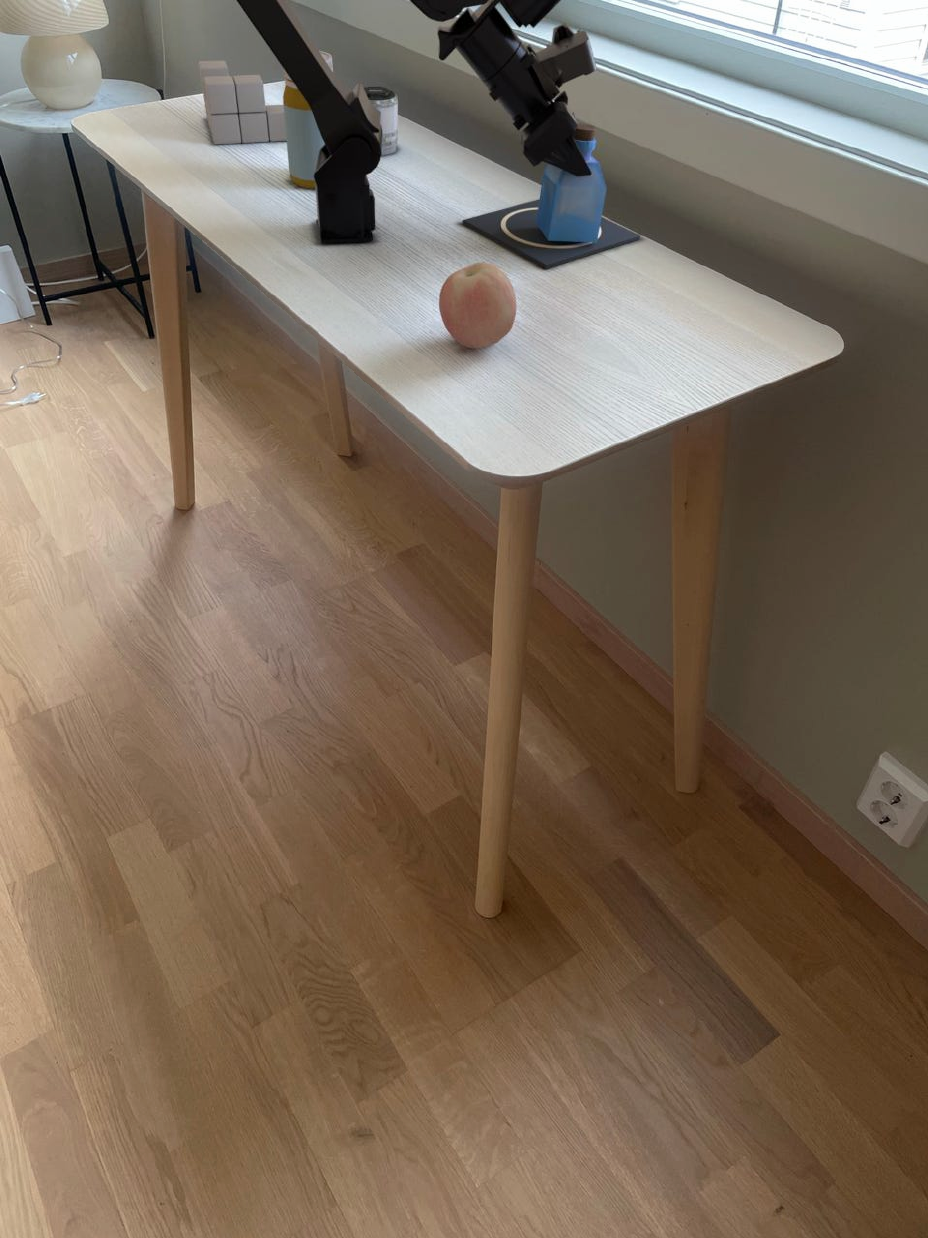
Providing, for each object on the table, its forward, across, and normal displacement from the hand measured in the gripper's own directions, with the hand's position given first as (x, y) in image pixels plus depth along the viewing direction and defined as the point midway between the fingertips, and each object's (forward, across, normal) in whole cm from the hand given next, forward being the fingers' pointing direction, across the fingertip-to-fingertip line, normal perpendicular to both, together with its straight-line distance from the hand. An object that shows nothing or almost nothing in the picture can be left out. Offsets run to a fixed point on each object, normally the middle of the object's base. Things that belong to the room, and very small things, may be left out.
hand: (585, 169), depth 110 cm
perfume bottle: (+4, -1, +6) cm, 8 cm away
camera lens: (-12, +31, +24) cm, 41 cm away
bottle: (-18, +17, +30) cm, 39 cm away
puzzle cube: (-26, +38, +38) cm, 60 cm away
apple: (-4, -27, +16) cm, 32 cm away
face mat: (+4, +2, +8) cm, 9 cm away
